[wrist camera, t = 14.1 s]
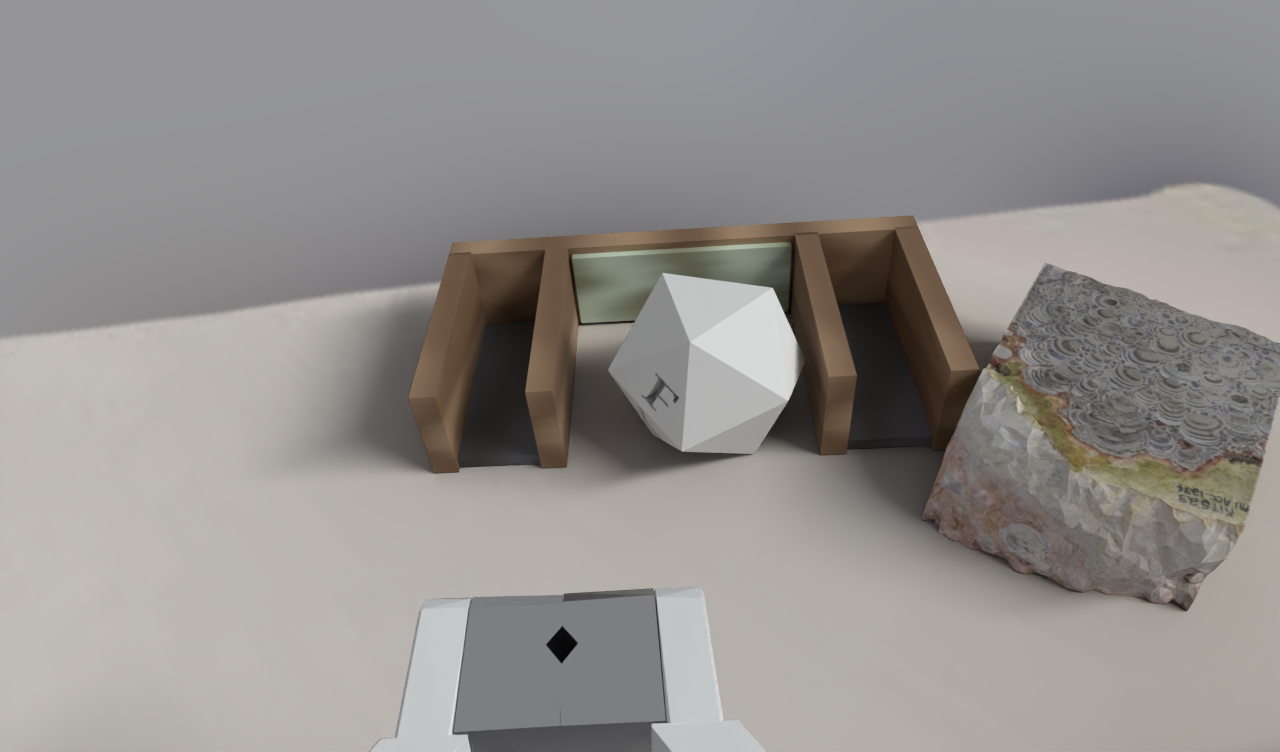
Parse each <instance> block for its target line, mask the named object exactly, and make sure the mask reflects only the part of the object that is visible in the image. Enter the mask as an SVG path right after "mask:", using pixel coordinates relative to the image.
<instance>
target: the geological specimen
mask: <svg viewBox="0 0 1280 752" xmlns="http://www.w3.org/2000/svg"><path fill="white" fill-rule="evenodd" d="M1279 398H1280V343H1277V342H1273V341H1271V340H1270V339H1268V338H1266V337H1263V336H1260V335H1258V334H1256V333H1254V332H1252V331H1250V330H1248V329H1246V328H1243V327H1239V326H1236V325H1231V324H1225V323H1219V322H1214V321H1211V320H1208V319H1206V318H1203V317H1201V316H1197V315H1193V314H1189V313H1187V312H1184V311H1182V310H1179V309H1177V308H1174V307H1172V306H1169V305H1168V304H1166V303H1163V302H1159V301H1158V300H1150V299H1149V298H1148V297H1146V296H1144V295H1142V294H1140V293H1137V292H1134V291H1132V290H1130V289H1127V288H1120V287H1114V286H1111V285H1106V284H1103V283H1100V282H1098V281H1096V280H1094V279H1093V278H1090V277H1087V276H1084V275H1081V274H1078V273H1075V272H1071V271H1066V270H1064V269H1061V268H1059V267H1056V266H1054V265H1051V264H1047V263H1045V264H1044V265H1043V267H1042V269H1041V271H1040V272H1039V274H1038V276H1037V278H1036V279H1035V281H1034V283H1033V285H1032V286H1031V288H1030V290H1029V292H1028V293H1027V295H1026V297H1025V299H1024V301H1023V302H1022V304H1021V306H1020V308H1019V309H1018V311H1017V313H1016V315H1015V316H1014V318H1013V320H1012V322H1011V323H1010V325H1009V327H1008V328H1007V330H1006V331H1005V333H1004V335H1003V338H1002V341H1001V343H1000V344H999V345H998V346H997V347H996V349H995V351H994V352H993V354H992V357H991V359H990V362H989V364H988V366H987V367H986V368H983V370H982V372H981V374H980V377H979V379H978V381H977V383H976V385H975V387H974V389H973V391H972V393H971V395H970V397H969V399H968V401H967V403H966V405H965V407H964V410H963V413H962V415H961V418H960V420H959V422H958V424H957V427H956V429H955V432H954V434H953V436H952V438H951V440H950V442H949V444H948V446H947V448H946V451H945V454H944V458H943V462H942V465H941V467H940V470H939V472H938V475H937V477H936V480H935V482H934V485H933V487H932V492H931V495H930V497H929V499H928V502H927V504H926V506H925V509H924V512H923V515H922V519H921V520H929V521H930V522H932V523H935V524H936V525H937V526H938V531H939V534H943V535H944V536H946V537H947V538H948V539H950V540H953V541H958V542H960V543H962V544H963V545H965V546H966V547H968V548H969V549H977V550H981V551H983V552H985V553H988V554H991V555H995V556H998V557H1000V558H1003V559H1005V560H1006V562H1007V563H1008V564H1009V565H1010V566H1011V567H1012V569H1013V570H1014V571H1016V572H1018V573H1022V574H1031V573H1038V574H1042V575H1044V576H1046V577H1048V578H1049V579H1052V580H1054V581H1055V582H1057V583H1059V584H1060V585H1062V586H1063V587H1066V588H1068V589H1071V590H1074V591H1078V592H1088V591H1091V590H1093V591H1098V592H1101V593H1105V594H1116V595H1125V596H1133V597H1140V598H1146V599H1147V600H1148V601H1149V602H1151V603H1156V604H1163V605H1165V604H1167V603H1169V602H1174V603H1177V604H1178V605H1180V606H1181V607H1182V608H1183V609H1185V610H1186V611H1187V610H1188V609H1189V607H1190V606H1191V604H1192V603H1193V601H1194V599H1195V597H1196V595H1197V593H1198V590H1199V588H1200V585H1201V583H1202V582H1203V580H1204V579H1205V577H1206V576H1207V574H1209V573H1210V572H1212V571H1213V570H1215V569H1216V568H1217V567H1218V566H1219V565H1220V563H1221V562H1223V561H1224V560H1226V559H1227V557H1228V555H1229V554H1230V552H1231V551H1232V549H1233V548H1234V546H1235V544H1236V542H1237V541H1238V539H1239V537H1240V535H1241V533H1242V531H1243V529H1244V527H1245V525H1246V522H1247V519H1248V516H1249V511H1250V507H1251V503H1252V499H1253V496H1254V492H1255V489H1256V485H1257V481H1258V478H1259V474H1260V470H1261V467H1262V463H1263V460H1264V456H1265V453H1266V451H1265V446H1266V444H1267V442H1268V439H1269V436H1270V432H1271V429H1272V425H1273V421H1274V417H1275V413H1276V409H1277V406H1278V402H1279Z"/></svg>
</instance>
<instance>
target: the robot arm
mask: <svg viewBox="0 0 1280 752" xmlns="http://www.w3.org/2000/svg"><path fill="white" fill-rule="evenodd" d="M369 752H766V751H765V750H764V749H763V748H762V747H761V746H760V744H759V743H758V742H757V741H756V740H755V739H754V738H753V737H752V735H751V734H750V733H749V732H748V731H747V730H746V729H745V728H744V726H743V725H742V724H741V723H740V722H739V721H738V720H723V715H722V709H721V702H720V696H719V690H718V683H717V677H716V670H715V664H714V657H713V651H712V644H711V638H710V631H709V625H708V618H707V612H706V605H705V599H704V594H703V592H702V590H701V589H700V587H686V588H665V589H655V590H654V591H653V588H651V589H635V590H618V591H601V592H584V593H568V594H564V595H550V596H503V597H473V598H442V599H425V601H424V603H423V605H422V607H421V609H420V611H419V615H418V620H417V625H416V630H415V635H414V641H413V646H412V651H411V656H410V661H409V666H408V671H407V677H406V682H405V687H404V692H403V697H402V702H401V707H400V713H399V718H398V723H397V728H396V733H395V738H384V739H379V740H378V742H377V743H376V744H375V745H374V746H373V747H372V748H371V750H370V751H369Z"/></svg>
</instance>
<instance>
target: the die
mask: <svg viewBox="0 0 1280 752" xmlns="http://www.w3.org/2000/svg"><path fill="white" fill-rule="evenodd" d="M804 364H805V358H804V356H803V354H802V352H801V349H800V347H799V345H798V343H797V341H796V338H795V336H794V334H793V332H792V329H791V327H790V325H789V323H788V320H787V318H786V316H785V314H784V312H783V309H782V307H781V305H780V303H779V300H778V298H777V296H776V294H775V291H774V289H773V288H770V287H763V286H756V285H748V284H741V283H734V282H726V281H719V280H711V279H704V278H697V277H689V276H682V275H675V274H667V273H662V274H661V276H660V278H659V280H658V282H657V283H656V285H655V287H654V289H653V290H652V292H651V294H650V296H649V298H648V299H647V301H646V303H645V305H644V306H643V308H642V310H641V312H640V314H639V315H638V317H637V319H636V321H635V322H634V324H633V326H632V328H631V330H630V331H629V333H628V335H627V337H626V338H625V340H624V342H623V344H622V346H621V347H620V349H619V351H618V353H617V354H616V356H615V358H614V360H613V362H612V363H611V365H610V367H609V369H608V371H609V373H610V374H611V375H612V377H613V378H614V380H615V381H616V383H617V384H618V385H619V387H620V388H621V390H622V391H623V393H624V394H625V395H626V397H627V398H628V400H629V401H630V403H631V404H632V406H633V407H634V408H635V410H636V411H637V413H638V414H639V416H640V417H641V418H642V420H643V421H644V423H645V424H646V426H647V427H648V428H649V430H650V431H651V433H652V434H653V435H654V436H656V437H658V438H659V439H661V440H663V441H665V442H666V443H668V444H670V445H671V446H673V447H675V448H677V449H678V450H680V451H682V452H710V453H741V454H755V452H756V451H757V449H758V448H759V446H760V445H761V443H762V441H763V440H764V438H765V437H766V435H767V434H768V432H769V430H770V429H771V427H772V426H773V424H774V423H775V421H776V420H777V418H778V416H779V415H780V413H781V412H782V410H783V409H784V407H785V405H786V404H787V402H788V401H789V398H790V396H791V394H792V391H793V389H794V387H795V385H796V382H797V380H798V378H799V375H800V373H801V371H802V368H803V366H804Z"/></svg>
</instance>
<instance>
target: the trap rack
mask: <svg viewBox="0 0 1280 752" xmlns="http://www.w3.org/2000/svg"><path fill="white" fill-rule="evenodd" d="M662 273H667V274H675V275H682V276H689V277H697V278H704V279H711V280H719V281H726V282H734V283H741V284H748V285H756V286H763V287H770V288H773V289H774V291H775V294H776V296H777V298H778V300H779V303H780V305H781V307H782V309H783V312H788V310H790V311H791V316H792V320H793V325H794V330H795V335H796V340H797V343H798V345H799V347H800V349H801V352H802V354H803V356H804V358H805V364H804V366H803V373H804V378H805V383H806V388H807V392H808V397H809V402H810V407H811V412H812V416H813V421H814V426H815V431H816V436H817V441H818V445H819V450H820V455H835V454H846V453H847V449H861V448H883V447H904V446H925V445H931V446H932V449H933V450H942V449H946V448H947V446H948V444H949V442H950V440H951V438H952V436H953V434H954V432H955V429H956V427H957V424H958V422H959V420H960V418H961V415H962V413H963V410H964V407H965V405H966V403H967V401H968V399H969V397H970V395H971V393H972V391H973V389H974V387H975V385H976V382H977V378H978V374H979V370H980V369H979V366H978V364H977V362H976V359H975V357H974V355H973V352H972V350H971V348H970V346H969V343H968V341H967V339H966V336H965V334H964V332H963V329H962V327H961V325H960V323H959V320H958V318H957V316H956V313H955V311H954V309H953V306H952V304H951V302H950V299H949V297H948V295H947V293H946V290H945V288H944V286H943V283H942V281H941V279H940V276H939V274H938V272H937V270H936V267H935V265H934V263H933V260H932V258H931V256H930V253H929V251H928V249H927V246H926V244H925V242H924V240H923V237H922V235H921V233H920V230H919V228H918V226H917V223H916V221H915V219H914V217H913V216H898V217H883V218H882V217H881V218H864V219H849V220H830V221H814V222H797V223H780V224H763V225H746V226H729V227H712V228H695V229H678V230H662V231H644V232H628V233H610V234H593V235H576V236H559V237H542V238H526V239H509V240H492V241H475V242H459V243H452V246H451V249H450V253H449V257H448V260H447V264H446V267H445V270H444V274H443V278H442V281H441V284H440V288H439V292H438V295H437V299H436V302H435V306H434V309H433V313H432V316H431V320H430V323H429V327H428V330H427V334H426V337H425V341H424V344H423V348H422V351H421V355H420V358H419V362H418V365H417V369H416V372H415V376H414V379H413V383H412V386H411V390H410V393H409V397H408V399H409V402H410V405H411V408H412V411H413V414H414V417H415V420H416V422H417V425H418V428H419V431H420V434H421V437H422V440H423V443H424V445H425V448H426V451H427V454H428V457H429V460H430V463H431V466H432V468H433V471H434V473H449V472H459V469H460V467H477V466H498V465H520V464H541V467H542V468H556V467H567V458H568V446H569V434H570V421H571V409H572V397H573V385H574V373H575V361H576V349H577V337H578V325H579V322H581V323H595V322H613V321H632V320H636V319H637V317H638V315H639V314H640V312H641V310H642V308H643V306H644V305H645V303H646V301H647V299H648V298H649V296H650V294H651V292H652V290H653V289H654V287H655V285H656V283H657V282H658V280H659V278H660V276H661V274H662Z"/></svg>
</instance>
